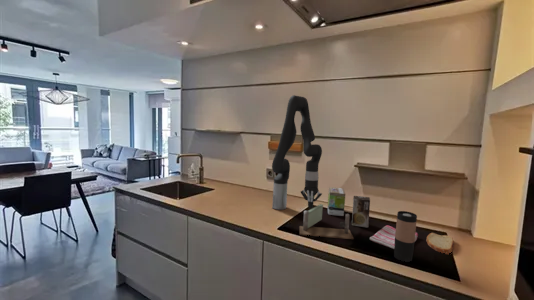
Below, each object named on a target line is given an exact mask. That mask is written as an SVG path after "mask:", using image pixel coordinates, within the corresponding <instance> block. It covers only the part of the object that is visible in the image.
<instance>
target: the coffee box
mask: <svg viewBox="0 0 534 300" xmlns="http://www.w3.org/2000/svg"><path fill="white" fill-rule="evenodd" d="M352 201H353V202H352V215H351V216H352V218H351V226H355V227H362V228H369V226H370V225H369V224H370V222H369V221H370V206H371V205H370V204H371V197H369V196H361V195H360V196H359V195H353V199H352Z"/></svg>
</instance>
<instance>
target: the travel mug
mask: <svg viewBox="0 0 534 300" xmlns="http://www.w3.org/2000/svg"><path fill="white" fill-rule="evenodd" d="M417 221H418V214H416V213H414V212H411V211H405V210H400V211H397V216H396V223H395V225H396V226H395V229H396V232H395V245H394V249H393V257H394V258H395V259H396V260H398V261H400V260H401V262H404V261H405V262H406V263H409V262H410V261H411V262H412V261H413V255H414V249H415V242H416V241H415V233H417V231H416V230H417ZM405 262H404V263H405Z"/></svg>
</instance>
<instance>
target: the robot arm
mask: <svg viewBox="0 0 534 300" xmlns="http://www.w3.org/2000/svg"><path fill="white" fill-rule="evenodd" d="M296 112H299V113H300V115H301V124H300V134H301V138H302V140H303V141H302V144H303V147H302V148H303V150H302V151H303V153H304V155H305V156H306V157H308V158H311V159H309V160H307V161H306V165H305V176H304V188H303V190H300V194H301V195H302V197H303V199H304V200H305V201H307V207H308V209H312V208H314V203H315V202H316V201H317V200H318V199H320V197H321V196H322V195H323V193H322V192H320V191H319V164H320V161H321V157H322V154H323V150H322V149H323V148H322V146H321V145H320V144H312V142H313V141H315V140H316V136H315V132H314V129H313V126H312V121H311V116H310V108H309V102H308V99H307V98H306V97H304V96H300V95H295V94H294V95H292V96H290V98H289V100H288V102H287V107H286V113H285V119H284V123H283V128H282V130H281V134H280V138H279V142H278V146H277V149H276V152H275V155H274V158H273V160H272V165H271V169H272V172H273V173H275V174H277V175H276V176H275V177H274V178H273V190H272V193H273V194H272V204H271V205H272V207H271V209H275V210H279V211H281V210H286V209H287V201H288V200H287V199H288V182H289V179H290V171H291V170H290V169H291V164H290V161H289V160H288V159H287V158H286V155H287V153H288V152H289V150H290V149H291V148H292V147H293V144H294V143H295V140H296V136H297V133H298V132H297V126H296V122H295V117H296Z"/></svg>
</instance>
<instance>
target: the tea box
mask: <svg viewBox="0 0 534 300" xmlns="http://www.w3.org/2000/svg"><path fill="white" fill-rule="evenodd" d="M345 204H346V192H345V189H344V188H341V187H330V186H329V187H328V197H327V214H328V215H329V216H331V215H332V216H339V217H344V215H345Z"/></svg>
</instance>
